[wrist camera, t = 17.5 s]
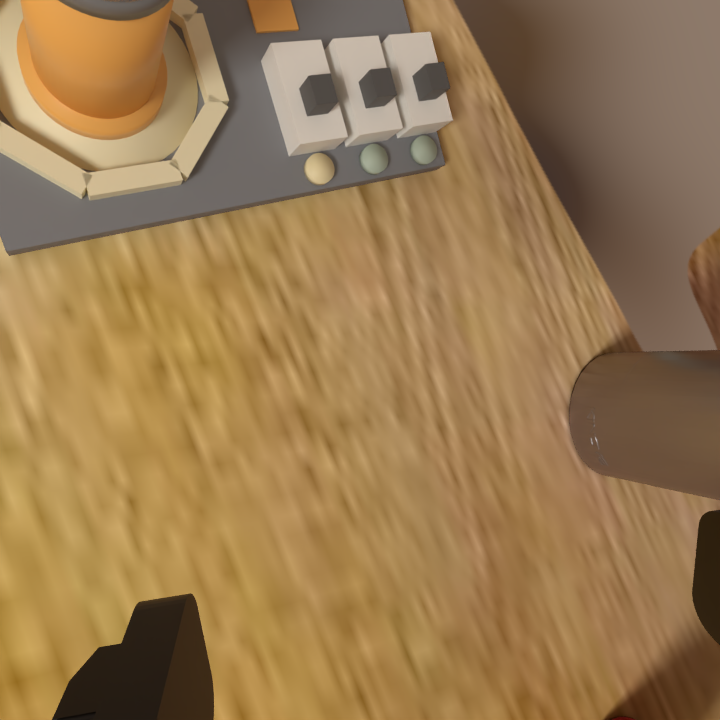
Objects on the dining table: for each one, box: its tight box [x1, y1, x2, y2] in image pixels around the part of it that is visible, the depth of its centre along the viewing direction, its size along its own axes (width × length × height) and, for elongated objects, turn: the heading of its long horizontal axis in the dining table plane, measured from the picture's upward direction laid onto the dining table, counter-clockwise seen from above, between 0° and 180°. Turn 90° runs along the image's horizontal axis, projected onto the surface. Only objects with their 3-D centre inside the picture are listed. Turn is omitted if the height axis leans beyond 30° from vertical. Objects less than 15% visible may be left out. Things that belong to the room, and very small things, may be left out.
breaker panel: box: [0, 0, 453, 256], centre depth 27 cm, size 24×14×4 cm, turn 107°
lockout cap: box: [17, 0, 174, 140], centre depth 21 cm, size 6×6×10 cm
